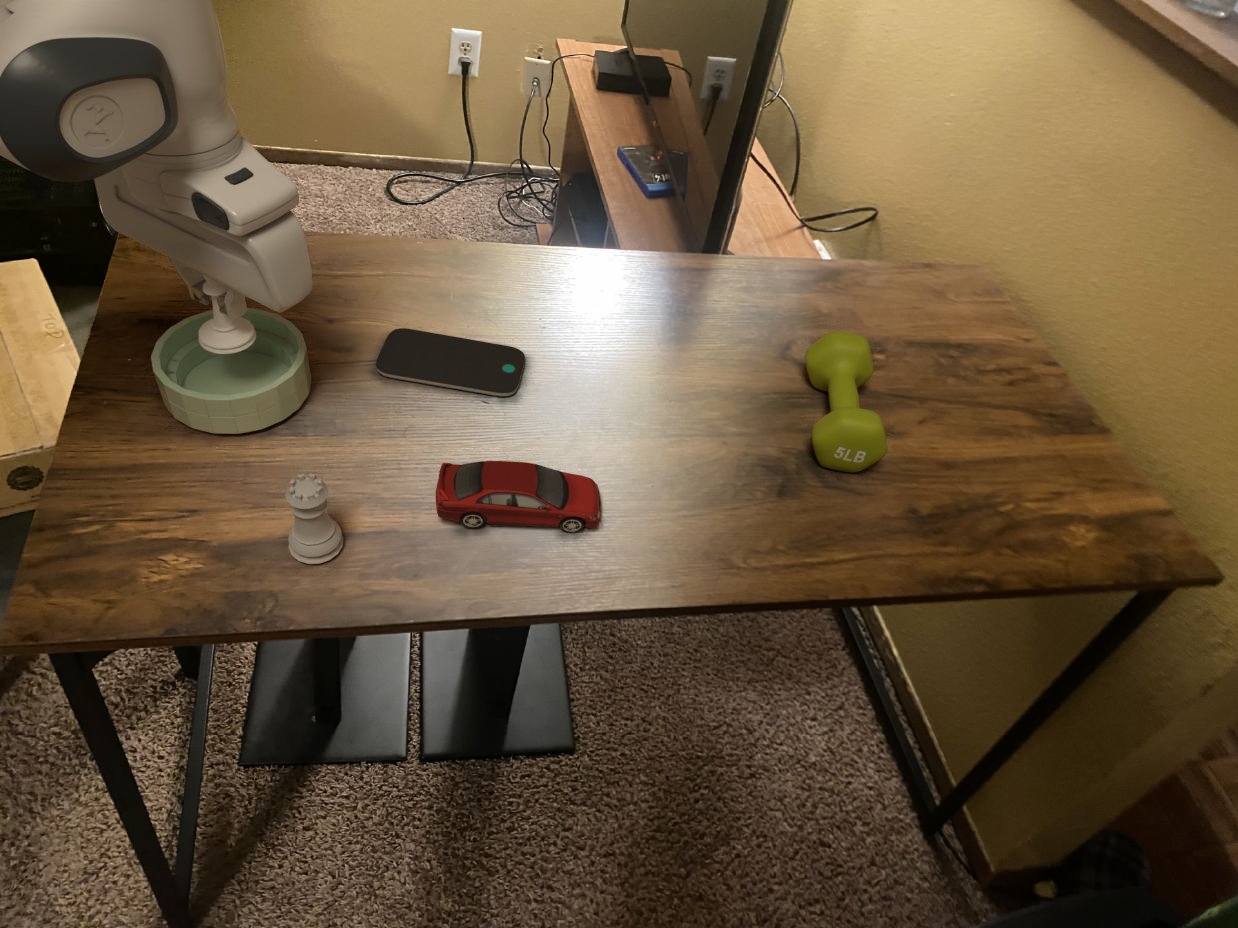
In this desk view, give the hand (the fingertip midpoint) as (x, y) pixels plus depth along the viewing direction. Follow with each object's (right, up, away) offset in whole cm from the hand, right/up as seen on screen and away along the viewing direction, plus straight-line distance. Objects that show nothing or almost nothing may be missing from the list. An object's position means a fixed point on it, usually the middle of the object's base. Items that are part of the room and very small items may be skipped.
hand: (219, 306), depth 75 cm
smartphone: (+18, -4, +14) cm, 23 cm away
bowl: (-2, -7, +7) cm, 10 cm away
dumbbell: (+60, -10, +18) cm, 63 cm away
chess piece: (-1, -2, +3) cm, 4 cm away
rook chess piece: (+10, -21, -3) cm, 24 cm away
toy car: (+27, -19, +2) cm, 33 cm away
